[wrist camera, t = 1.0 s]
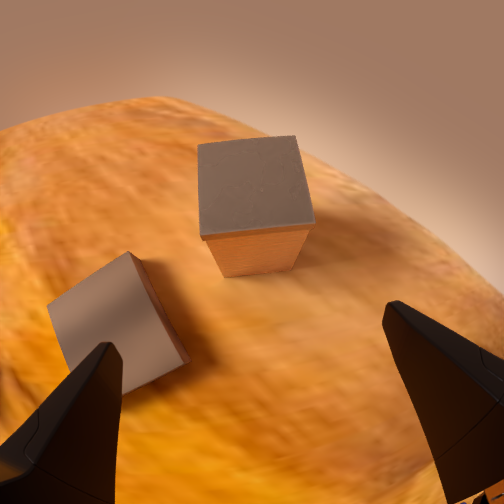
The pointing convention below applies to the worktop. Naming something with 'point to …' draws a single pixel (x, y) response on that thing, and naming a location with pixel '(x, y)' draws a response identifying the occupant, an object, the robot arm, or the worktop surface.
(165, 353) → the block
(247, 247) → the tin
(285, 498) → the worktop surface
